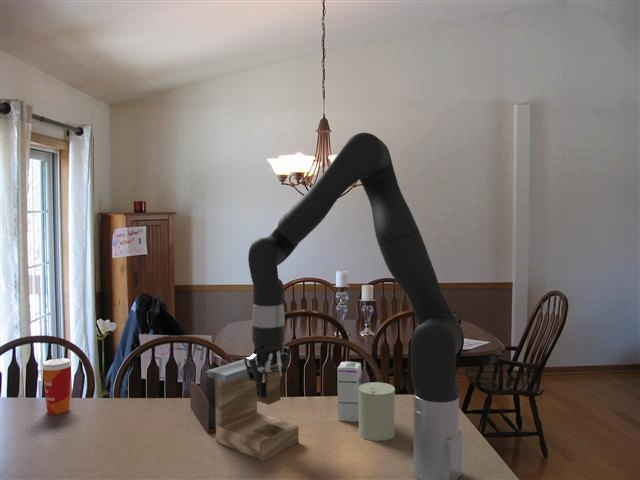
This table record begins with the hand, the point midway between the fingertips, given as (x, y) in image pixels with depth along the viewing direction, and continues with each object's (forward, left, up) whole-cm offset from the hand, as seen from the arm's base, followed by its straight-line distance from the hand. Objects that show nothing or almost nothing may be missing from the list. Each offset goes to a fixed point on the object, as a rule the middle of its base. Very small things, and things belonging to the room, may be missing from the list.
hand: (268, 394), depth 126 cm
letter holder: (+24, -4, -13) cm, 27 cm away
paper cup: (+62, +20, -13) cm, 66 cm away
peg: (0, 0, -1) cm, 1 cm away
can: (-16, -22, -13) cm, 30 cm away
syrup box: (-5, -26, -13) cm, 29 cm away
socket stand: (+4, 0, -13) cm, 13 cm away
